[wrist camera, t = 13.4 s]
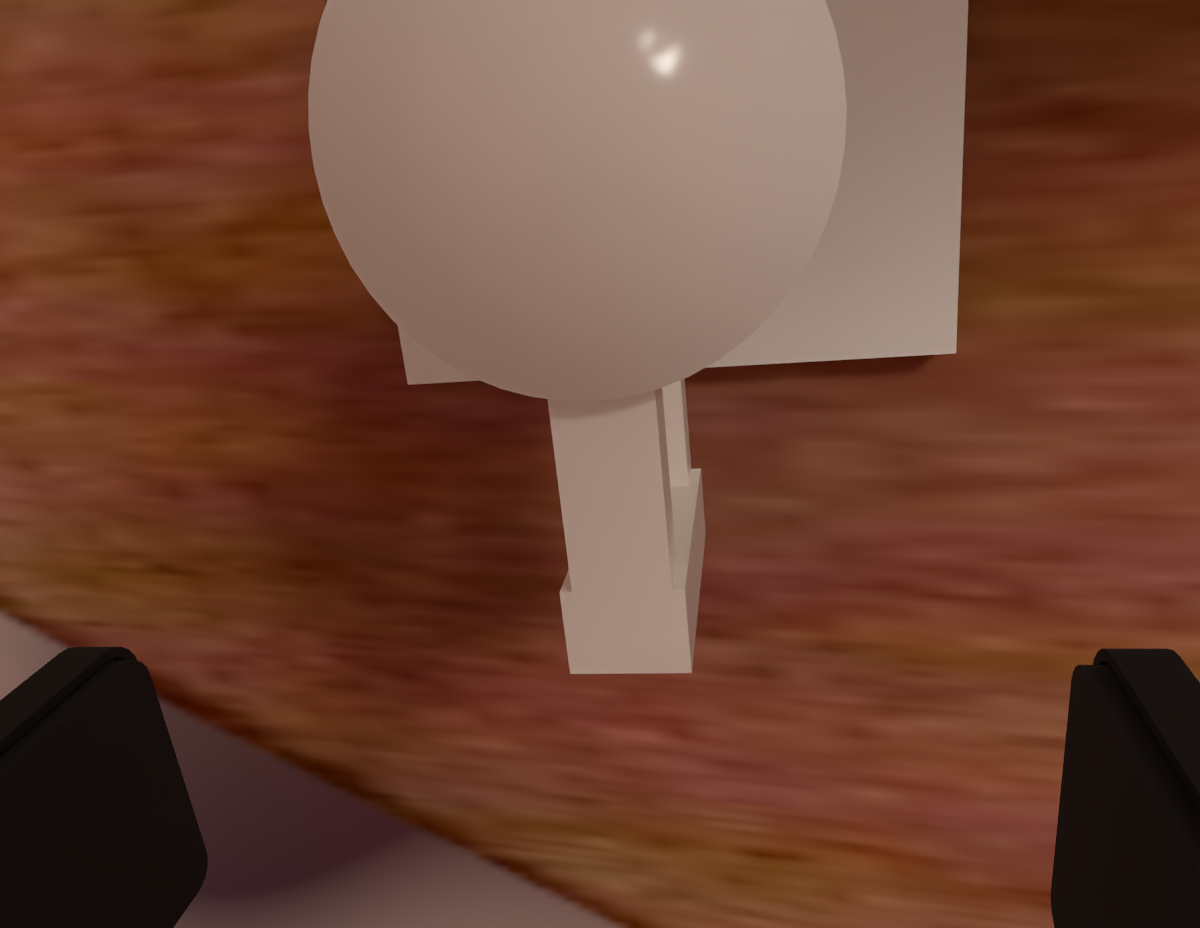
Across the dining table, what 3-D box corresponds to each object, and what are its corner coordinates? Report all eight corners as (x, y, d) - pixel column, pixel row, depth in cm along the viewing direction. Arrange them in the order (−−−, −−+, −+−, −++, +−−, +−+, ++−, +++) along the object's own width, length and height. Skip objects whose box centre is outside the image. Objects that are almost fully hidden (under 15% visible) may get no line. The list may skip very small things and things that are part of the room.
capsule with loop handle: (473, -75, 21) (230, -257, 11) (792, -125, 20) (839, -378, 10) (545, 471, 25) (416, 692, 15) (810, 458, 24) (855, 689, 14)
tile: (320, -223, 21) (300, -239, 20) (969, -338, 19) (981, -362, 18) (419, 374, 26) (407, 384, 25) (947, 344, 23) (956, 353, 22)
